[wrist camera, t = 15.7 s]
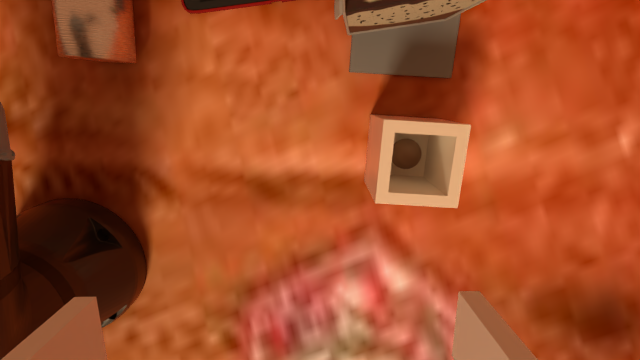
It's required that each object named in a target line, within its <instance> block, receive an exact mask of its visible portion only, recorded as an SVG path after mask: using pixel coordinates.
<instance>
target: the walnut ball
mask: <svg viewBox="0 0 640 360" xmlns="http://www.w3.org/2000/svg"><path fill="white" fill-rule="evenodd" d="M421 154H422V153H421V148H420V146H419V145H418V143H417V142H415V141H414V140H412V139H401V140H398V141H397V142H395V143H394V146H393V155H392V162H393V163H394V165H396V166H397V167H399V168H401V169H410V168H413V167H414V166H416V165H417V164H418V163H419V161H420V159H421Z"/></svg>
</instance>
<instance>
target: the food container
mask: <svg viewBox="0 0 640 360" xmlns="http://www.w3.org/2000/svg"><path fill="white" fill-rule="evenodd" d="M484 1H486V0H335V5H334V10H335V19H338V18H339V17H340V16H341V15H343V17H344V21H345V26H346V30H347V35H353V34H360V33H367V32H373V31H380V30H387V29H394V28H400V27H407V26H414V25H421V24H428V23H434V22H441V21H446V20H448V19H450V18H452V17H454V16H456V15H458V14H460V13H462V12H464V11H466V10H468V9H470V8H472V7H474V6H476V5H478V4H480V3H482V2H484Z"/></svg>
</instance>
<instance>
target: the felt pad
mask: <svg viewBox="0 0 640 360" xmlns="http://www.w3.org/2000/svg"><path fill="white" fill-rule="evenodd" d="M460 15H461V13H460V14H458V15H456V16H454V17H452V18H450V19H448V20H446V21H441V22H434V23H428V24H421V25H414V26H407V27H400V28H394V29H387V30H380V31H373V32H367V33H360V34H353V35H352V42H351V55H350V68H349V72H357V73H373V74H389V75H405V76H421V77H437V78H451V77H452V70H453V63H454V57H455V50H456V43H457V36H458V29H459V22H460Z"/></svg>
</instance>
